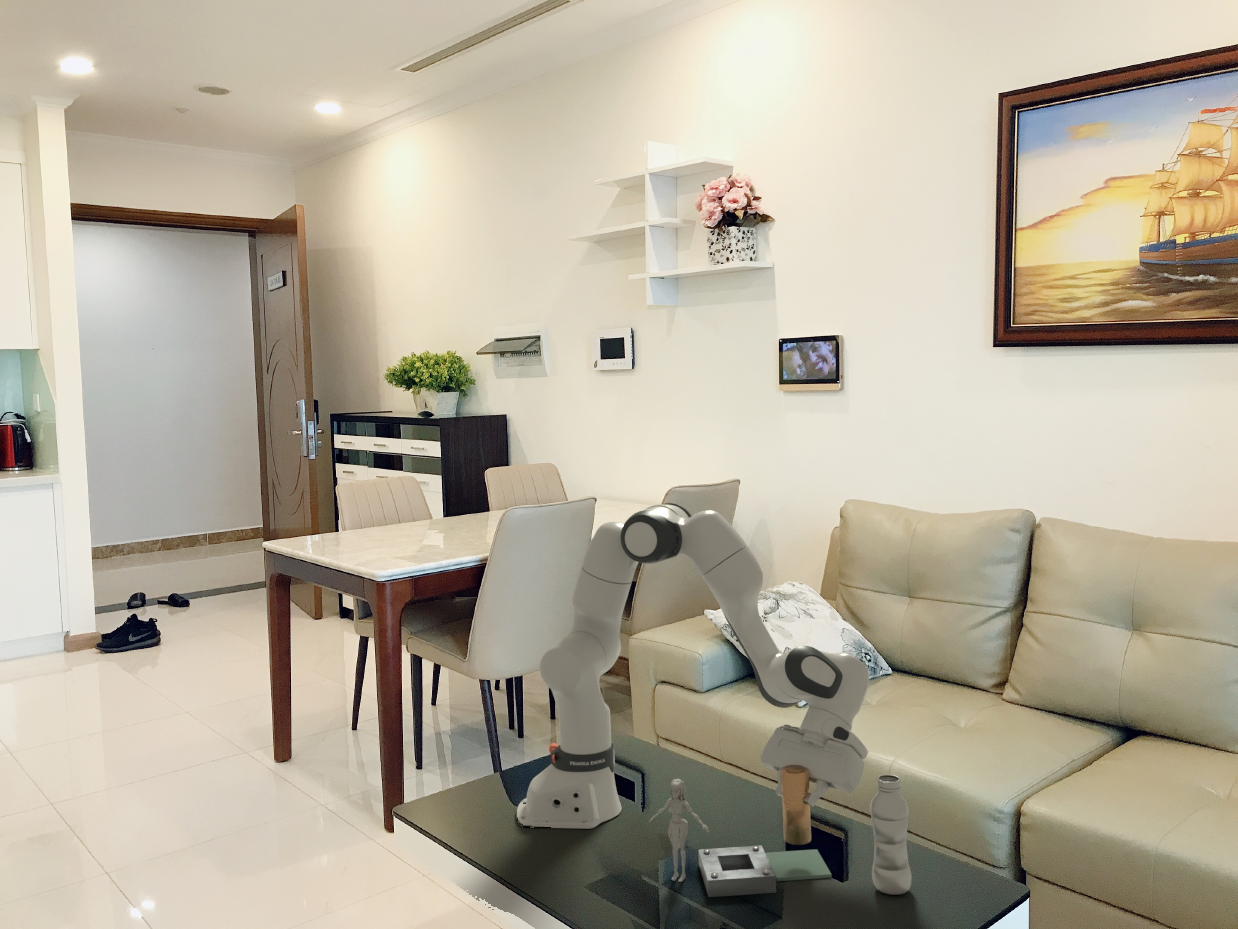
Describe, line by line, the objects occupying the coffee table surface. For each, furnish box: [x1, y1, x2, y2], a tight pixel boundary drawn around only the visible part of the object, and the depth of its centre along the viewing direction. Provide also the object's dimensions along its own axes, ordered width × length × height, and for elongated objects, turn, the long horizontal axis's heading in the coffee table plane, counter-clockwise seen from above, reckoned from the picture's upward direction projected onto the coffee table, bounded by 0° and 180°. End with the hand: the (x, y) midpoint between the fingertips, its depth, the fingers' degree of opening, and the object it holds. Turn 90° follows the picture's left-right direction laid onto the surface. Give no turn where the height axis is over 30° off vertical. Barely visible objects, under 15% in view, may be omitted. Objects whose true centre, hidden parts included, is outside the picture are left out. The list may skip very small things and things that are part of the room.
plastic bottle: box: [869, 774, 913, 896], centre depth 168 cm, size 6×7×20 cm
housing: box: [697, 845, 777, 898], centre depth 175 cm, size 12×12×3 cm
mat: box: [765, 848, 832, 882], centre depth 179 cm, size 10×10×1 cm
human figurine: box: [647, 778, 710, 883], centre depth 176 cm, size 12×4×18 cm, turn 63°
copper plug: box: [781, 765, 812, 846], centre depth 178 cm, size 5×5×13 cm
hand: (793, 800), depth 178 cm, fingers closed on copper plug, 5 cm apart
